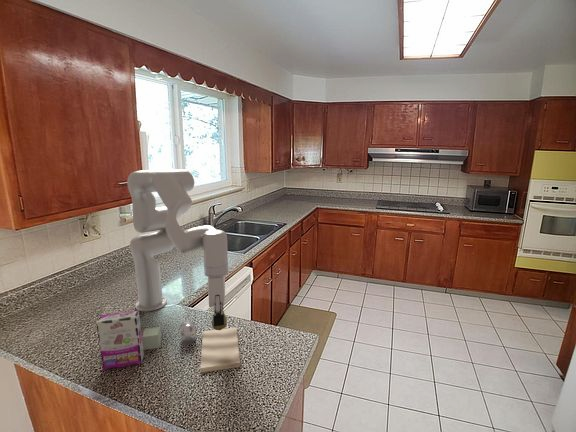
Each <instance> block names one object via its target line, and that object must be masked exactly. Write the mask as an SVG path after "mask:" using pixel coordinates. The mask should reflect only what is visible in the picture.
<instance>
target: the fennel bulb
mask: <svg viewBox="0 0 576 432" xmlns="http://www.w3.org/2000/svg"><path fill="white" fill-rule="evenodd" d="M219 297H220V295H219ZM220 305H221V303H220ZM220 309H221V307H220ZM223 313H224V325H222V326H214V319H213V317H212V319H211V327H212V328H213V330H222V329H226V326H227V316H226V313H225V312H224V311H223Z"/></svg>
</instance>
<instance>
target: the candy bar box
mask: <svg viewBox="0 0 576 432" xmlns="http://www.w3.org/2000/svg"><path fill="white" fill-rule="evenodd" d="M96 330H97V337H98V342H99V343H98V344H99V351H100V356H101V363H102V364H101V365H102V369H103V371H107V370H114V369H119V368H124V367H131V366H136V365H142V363H143V359H144V356H145V350H144V349H143V341H142V336H143V334H142V326H141V319H140V311H139V310H137V309H136V310H131V311H123V312H115V313H107V314H101V315H100V316H99V318H98V319H97V321H96Z"/></svg>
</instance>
